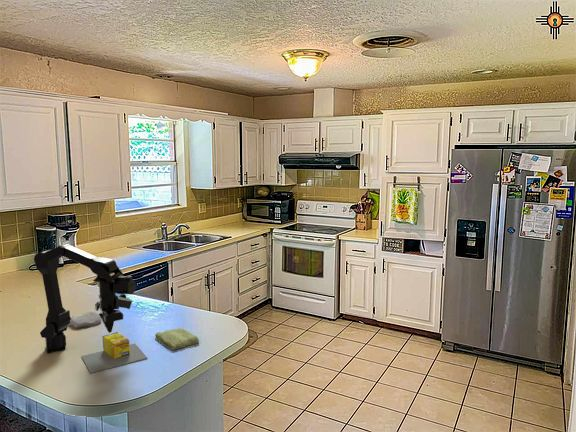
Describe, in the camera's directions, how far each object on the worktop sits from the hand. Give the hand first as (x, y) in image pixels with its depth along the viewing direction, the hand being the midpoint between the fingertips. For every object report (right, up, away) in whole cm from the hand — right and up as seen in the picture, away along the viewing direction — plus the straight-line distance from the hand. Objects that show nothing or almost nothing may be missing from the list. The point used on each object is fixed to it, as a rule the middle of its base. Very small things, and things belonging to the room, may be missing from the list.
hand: (109, 332), depth 167 cm
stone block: (-24, -5, +32) cm, 40 cm away
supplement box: (-2, -5, +4) cm, 7 cm away
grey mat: (+3, -9, -3) cm, 10 cm away
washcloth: (+22, -8, +13) cm, 27 cm away
